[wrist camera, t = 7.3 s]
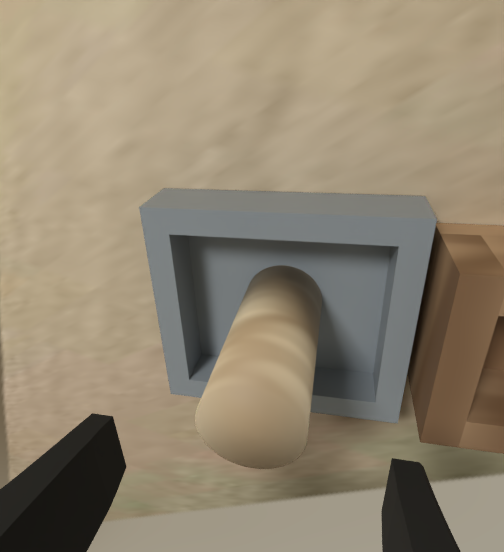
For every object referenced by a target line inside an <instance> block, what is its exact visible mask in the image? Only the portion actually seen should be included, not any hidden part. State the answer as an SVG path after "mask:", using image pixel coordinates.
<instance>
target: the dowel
mask: <svg viewBox="0 0 504 552" xmlns="http://www.w3.org/2000/svg"><path fill="white" fill-rule="evenodd" d="M321 308H322V295H321V291H320V289H319V287H318V285H317V283H316V282H315V281H314V279H313V278H312V277H311V276H309V275H308V274H307V273H305V272H304V271H302V270H300V269H298V268H295V267H291V266H285V265H278V266H272V267H268V268H265V269H263V270H262V271H260V272H259V273H257V274H256V275H255V276H254V277H253V279H252V280H251V282H250V283H249V286H248V288H247V290H246V293H245V295H244V298H243V300H242V302H241V305H240V307H239V310H238V312H237V314H236V317H235V319H234V321H233V324H232V326H231V329H230V331H229V333H228V336H227V338H226V340H225V343H224V345H223V348H222V350H221V352H220V355H219V357H218V359H217V362H216V364H215V367H214V369H213V371H212V374H211V376H210V378H209V381H208V383H207V386H206V388H205V390H204V393H203V395H202V397H201V400H200V402H199V405H198V407H197V410H196V413H195V424H196V428H197V431H198V433H199V435H200V437H201V438H202V440H203V441H204V442H205V443H206V444H207V446H208V447H209V448H210V449H212V450H213V451H214V452H215V453H217V454H218V455H219V456H221V457H223V458H225V459H226V460H228V461H231V462H233V463H236V464H238V465H242V466H245V467H250V468H257V469H271V468H278V467H282V466H285V465H287V464H290V463H291V462H293V461H295V460H296V459H297V458H298V457H299V456H300V455H301V454H302V453H303V451H304V450H305V447H306V444H307V438H308V429H309V420H310V410H311V401H312V392H313V382H314V373H315V364H316V354H317V345H318V336H319V326H320V317H321Z"/></svg>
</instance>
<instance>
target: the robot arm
mask: <svg viewBox="0 0 504 552" xmlns="http://www.w3.org/2000/svg"><path fill="white" fill-rule="evenodd" d="M125 469H126V464H125V460H124V456H123V452H122V449H121V445H120V441H119V438H118V434H117V430H116V427H115V423H114V419H113V416H106V415H99V414H93V413H92V414H91V415H90V416H89V417H88V418H86V419H85V420H84V421H83V422H82V423H80V424H79V425H78V426H77V427H76V428H74V429H73V430H72V431H71V432H70V433H68V434H67V435H66V436H65V437H64V438H62V439H61V440H60V441H59V442H58V443H57V444H55V445H54V446H53V447H52V448H51V449H49V450H48V451H47V452H46V453H45V454H43V455H42V456H41V457H40V458H39V459H37V460H36V461H35V462H34V463H33V464H31V465H30V466H29V467H28V468H26V469H25V470H24V471H23V472H22V473H20V474H19V475H18V476H17V477H15V478H14V479H13V480H12V481H10V482H9V483H8V484H7V485H5V486H4V487H3V488H2V489H0V552H86V551H87V550H88V548H89V546H90V544H91V542H92V541H93V539H94V537H95V535H96V533H97V531H98V529H99V527H100V525H101V524H102V522H103V520H104V518H105V516H106V514H107V512H108V510H109V508H110V506H111V504H112V502H113V499H114V497H115V494H116V492H117V490H118V487H119V485H120V482H121V479H122V477H123V474H124V472H125ZM382 545H383V552H460V550H459V548H458V546H457V544H456V542H455V540H454V537H453V535H452V533H451V531H450V529H449V527H448V525H447V523H446V520H445V518H444V516H443V514H442V511H441V509H440V507H439V505H438V502H437V500H436V498H435V495H434V493H433V490H432V488H431V485H430V483H429V480H428V478H427V475H426V472H425V470H424V467H423V466H422V465H421V464H420V463H419V462H413V461H406V460H399V459H393V458H392V461H391V466H390V471H389V476H388V481H387V486H386V491H385V497H384V502H383V507H382Z"/></svg>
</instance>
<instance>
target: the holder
mask: <svg viewBox="0 0 504 552" xmlns="http://www.w3.org/2000/svg"><path fill="white" fill-rule="evenodd" d="M408 377H409V382H410V388H411V394H412V399H413V405H414V410H415V416H416V421H417V427H418V432H419V438H420V442H423V443H430V444H437V445H445V446H452V447H459V448H466V449H474V450H481V451H488V452H495V453H503V454H504V226H497V225H473V224H449V223H436V227H435V232H434V237H433V242H432V247H431V253H430V258H429V263H428V268H427V273H426V279H425V284H424V289H423V294H422V299H421V304H420V310H419V315H418V320H417V325H416V330H415V336H414V341H413V346H412V351H411V356H410V362H409V367H408Z"/></svg>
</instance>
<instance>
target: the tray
mask: <svg viewBox="0 0 504 552" xmlns="http://www.w3.org/2000/svg"><path fill="white" fill-rule="evenodd" d="M139 209H140V215H141V221H142V226H143V232H144V238H145V244H146V250H147V256H148V262H149V268H150V274H151V279H152V285H153V291H154V297H155V303H156V309H157V315H158V321H159V327H160V333H161V338H162V344H163V350H164V356H165V362H166V368H167V374H168V380H169V386H170V391H171V394H176V395H184V396H192V397H199V398H201V397H202V395H203V393H204V390H205V388H206V386H207V383H208V381H209V378H210V376H211V374H212V371H213V369H214V367H215V364H216V362H217V359H218V357H219V355H220V352H221V350H222V348H223V345H224V343H225V340H226V338H227V336H228V333H229V331H230V329H231V326H232V324H233V321H234V319H235V317H236V314H237V312H238V310H239V307H240V305H241V302H242V300H243V298H244V295H245V293H246V290H247V288H248V286H249V283H250V282H251V280H252V279H253V277H254V276H255V275H256V274H257V273H259V272H260V271H262V270H263V269H265V268H268V267H272V266H278V265H285V266H291V267H295V268H298V269H300V270H302V271H304V272H305V273H307V274H308V275H309V276H311V277H312V278H313V279H314V281H315V282H316V283H317V285H318V287H319V289H320V291H321V295H322V308H321V317H320V326H319V336H318V345H317V354H316V364H315V373H314V382H313V392H312V401H311V410H310V412H314V413H322V414H329V415H337V416H345V417H352V418H360V419H368V420H375V421H383V422H391V423H398V419H399V413H400V408H401V403H402V398H403V393H404V388H405V382H406V377H407V372H408V367H409V362H410V356H411V351H412V346H413V341H414V336H415V330H416V325H417V320H418V315H419V310H420V304H421V299H422V294H423V289H424V284H425V279H426V273H427V268H428V263H429V258H430V253H431V247H432V242H433V237H434V232H435V227H436V221H437V218H436V216H435V214H434V212H433V210H432V208H431V206H430V204H429V202H428V200H427V199H426V197H425V196H403V195H370V194H336V193H303V192H270V191H236V190H203V189H169V188H164V189H162V190H161V191H160V192H158V193H157V194H156V195H155V196H153V197H152V198H151V199H149V200H148V201H147V202H145V203H144V204H143V205H141V206H140V207H139Z"/></svg>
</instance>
